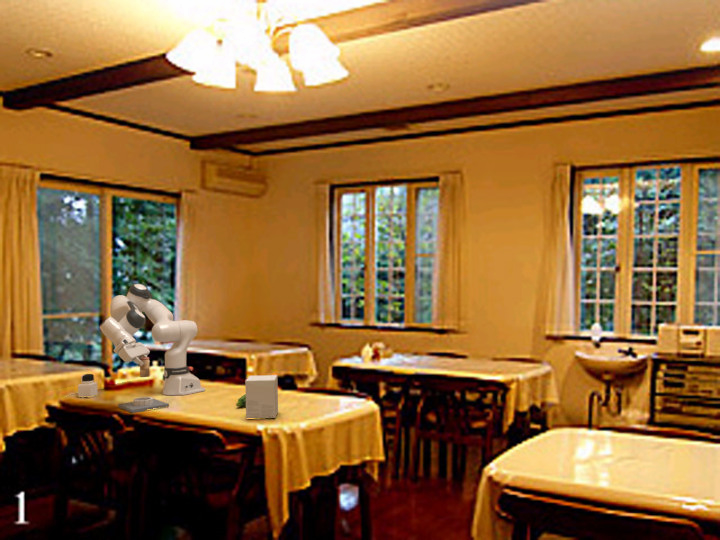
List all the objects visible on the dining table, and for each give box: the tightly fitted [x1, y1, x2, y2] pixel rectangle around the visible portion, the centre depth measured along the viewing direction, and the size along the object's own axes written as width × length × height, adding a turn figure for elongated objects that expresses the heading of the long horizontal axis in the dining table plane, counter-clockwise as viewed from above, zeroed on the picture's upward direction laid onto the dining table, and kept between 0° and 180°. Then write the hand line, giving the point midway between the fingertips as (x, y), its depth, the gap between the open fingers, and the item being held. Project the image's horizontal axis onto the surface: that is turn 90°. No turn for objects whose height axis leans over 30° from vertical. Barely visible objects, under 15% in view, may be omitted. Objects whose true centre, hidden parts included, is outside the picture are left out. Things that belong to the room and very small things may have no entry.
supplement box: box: [244, 374, 279, 419], centre depth 288 cm, size 13×13×18 cm
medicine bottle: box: [77, 373, 98, 397], centre depth 338 cm, size 7×7×12 cm
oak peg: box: [139, 356, 151, 378], centre depth 310 cm, size 4×4×9 cm
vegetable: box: [235, 393, 246, 408], centre depth 312 cm, size 7×7×20 cm
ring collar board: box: [117, 396, 170, 414], centre depth 311 cm, size 18×18×4 cm
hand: (145, 364), depth 310 cm, fingers closed on oak peg, 4 cm apart
